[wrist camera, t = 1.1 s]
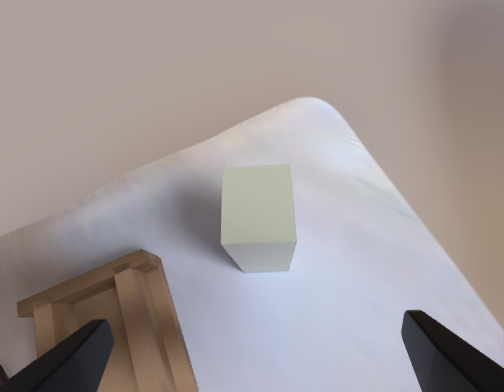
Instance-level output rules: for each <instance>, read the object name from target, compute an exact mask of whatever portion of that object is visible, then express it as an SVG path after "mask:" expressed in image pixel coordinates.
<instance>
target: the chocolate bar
mask: <svg viewBox="0 0 504 392" xmlns="http://www.w3.org/2000/svg"><path fill="white" fill-rule="evenodd" d="M8 379H9V378H8V376H7V375H6V373H5V371H4V369H3V368H2V366H1V365H0V385H1V384H3V383H4V382H5V381H7V380H8Z"/></svg>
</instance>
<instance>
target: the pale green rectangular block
mask: <svg viewBox="0 0 504 392" xmlns="http://www.w3.org/2000/svg"><path fill="white" fill-rule="evenodd" d="M296 242H297V237H296V226H295V214H294V203H293V191H292V179H291V168H290V164H284V165H267V166H251V167H234V168H222V207H221V245H222V247H223V248H224V249H225V250H226V251H227V253H228V254H229V255H230V256H231V258H232V259H233V260H234V261H235V262H236V264H237V265H238V266H239V267H240V268H241V270H242V271H243V272H244V273H256V272H286V271H289V268H290V264H291V261H292V257H293V253H294V250H295V246H296Z"/></svg>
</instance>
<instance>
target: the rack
mask: <svg viewBox="0 0 504 392" xmlns="http://www.w3.org/2000/svg"><path fill="white" fill-rule="evenodd" d="M17 310H18V317H34V323H35V334H36V346H37V357H38V358H39V357H40V356H42V355H43V354H45V353H46V352H47V351H49V350H50V349H52V348H53V347H54V346H56V345H57V344H58V343H60V342H61V341H63V340H64V339H65V338H67V337H68V336H70V335H71V334H72V333H74V332H75V331H77V330H78V329H79V328H81V327H82V326H84V325H85V324H86V323H88V322H89V321H91V320H92V319H103V318H105V319H107V320H108V321H109V324H110V327H111V330H112V332H113V335H114V346H113V349H112V352H111V354H110V357H109V360H108V363H107V366H106V368H105V371H104V374H103V377H102V379H101V382H100V385H99V388H98V391H97V392H199V390H198V387H197V383H196V380H195V376H194V373H193V369H192V366H191V362H190V359H189V356H188V352H187V349H186V345H185V342H184V338H183V335H182V331H181V328H180V324H179V321H178V318H177V314H176V311H175V307H174V304H173V300H172V297H171V293H170V290H169V286H168V283H167V280H166V276H165V273H164V269H163V266H162V262H161V259H160V258H159V257H157V256H155V255H153V254H151V253H149V252H147V251H144V250H142V249H140V250H138V251H136V252H133V253H131V254H129V255H126V256H124V257H122V258H119V259H117V260H115V261H112V262H110V263H108V264H106V265H103V266H101V267H99V268H96V269H94V270H92V271H89V272H87V273H85V274H82V275H80V276H78V277H75V278H73V279H71V280H68V281H66V282H64V283H62V284H59V285H57V286H55V287H52V288H50V289H48V290H45V291H43V292H41V293H38V294H36V295H34V296H31V297H29V298H27V299H24V300H22V301H20V302H18V303H17Z"/></svg>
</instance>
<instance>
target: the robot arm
mask: <svg viewBox="0 0 504 392" xmlns="http://www.w3.org/2000/svg"><path fill="white" fill-rule="evenodd" d="M401 334H402V339H403V342H404V345H405V347H406V350H407V353H408V355H409V358H410V361H411V363H412V366H413V369H414V371H415V374H416V377H417V380H418V382H419V385H420V388H421V390H422V392H504V368H503V367H501V366H500V365H499V364H497V363H496V362H494V361H493V360H491V359H490V358H489V357H487V356H486V355H484V354H483V353H482V352H480V351H479V350H477V349H476V348H474V347H473V346H472V345H470V344H469V343H467V342H466V341H464V340H463V339H462V338H460V337H459V336H457V335H456V334H455V333H453V332H452V331H450V330H449V329H447V328H446V327H445V326H443V325H442V324H440V323H439V322H437V321H436V320H435V319H433V318H432V317H430V316H429V315H428V314H426V313H425V312H423V311H421V310H407V311H405V313H404V318H403V324H402V330H401ZM113 346H114V335H113V332H112V330H111V327H110V324H109V321H108V320H107V319H105V318H103V319H92V320H91V321H89V322H88V323H86V324H85V325H84V326H82V327H81V328H79V329H78V330H77V331H75V332H74V333H72V334H71V335H70V336H68V337H67V338H65V339H64V340H63V341H61V342H60V343H58V344H57V345H56V346H54V347H53V348H52V349H50V350H49V351H47V352H46V353H45V354H43V355H42V356H40V357H39V358H38V359H36V360H35V361H33V362H32V363H31V364H29V365H28V366H26V367H25V368H24V369H22V370H21V371H19V372H18V373H17V374H15V375H14V376H12V377H11V378H10V379H8V380H7V381H5V382H4V383H3V384H1V385H0V392H97V391H98V388H99V385H100V382H101V379H102V377H103V374H104V371H105V368H106V366H107V363H108V360H109V357H110V354H111V352H112V349H113Z"/></svg>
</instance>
